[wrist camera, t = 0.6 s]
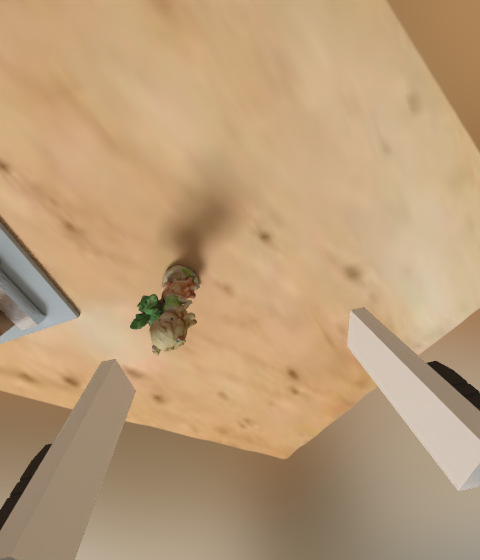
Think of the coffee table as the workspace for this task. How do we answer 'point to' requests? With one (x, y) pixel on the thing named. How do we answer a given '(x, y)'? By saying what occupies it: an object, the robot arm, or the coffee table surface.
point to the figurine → (169, 310)
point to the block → (5, 323)
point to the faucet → (18, 305)
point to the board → (31, 287)
